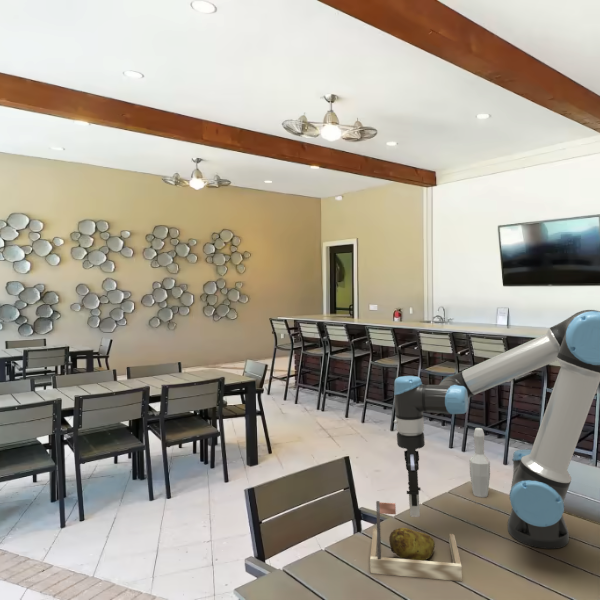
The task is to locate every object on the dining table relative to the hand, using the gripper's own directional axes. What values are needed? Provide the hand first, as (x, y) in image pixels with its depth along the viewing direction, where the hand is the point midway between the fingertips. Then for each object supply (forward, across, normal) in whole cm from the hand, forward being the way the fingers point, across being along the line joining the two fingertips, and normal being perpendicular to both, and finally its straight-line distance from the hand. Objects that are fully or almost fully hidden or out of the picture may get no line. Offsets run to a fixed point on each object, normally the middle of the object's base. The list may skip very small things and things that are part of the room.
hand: (415, 515), depth 134 cm
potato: (+6, +12, -1) cm, 14 cm away
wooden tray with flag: (+6, +12, -1) cm, 13 cm away
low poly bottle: (+6, -30, +22) cm, 38 cm away
